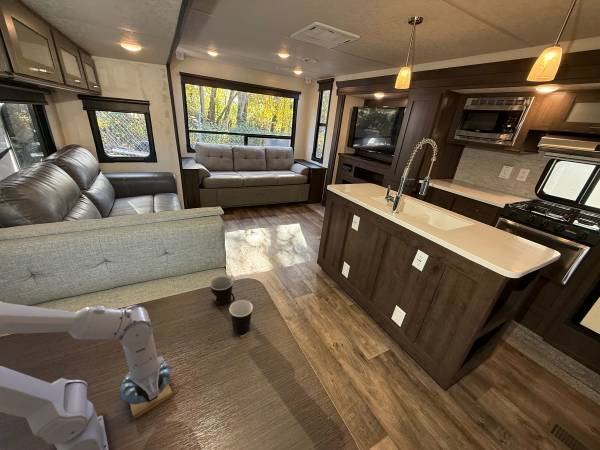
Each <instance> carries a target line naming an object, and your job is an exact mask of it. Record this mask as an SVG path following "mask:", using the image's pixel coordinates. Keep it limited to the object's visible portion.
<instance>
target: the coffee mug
mask: <svg viewBox="0 0 600 450" xmlns="http://www.w3.org/2000/svg"><path fill="white" fill-rule="evenodd" d="M209 285H210V286H209V287H210V291H211V296H212V301H213V303H214V305H216V306H217V307H218V306H219V307H224V306H227V305H228V304H229V305H231V304H232V303H234V302H235V301H236V298H235V295H234V293H233V285H234V280H233V279H232V278H231V277H229V276H226V275H225V276H223V275H222V276H217V277H215V278H212V280H210V283H209Z"/></svg>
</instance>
